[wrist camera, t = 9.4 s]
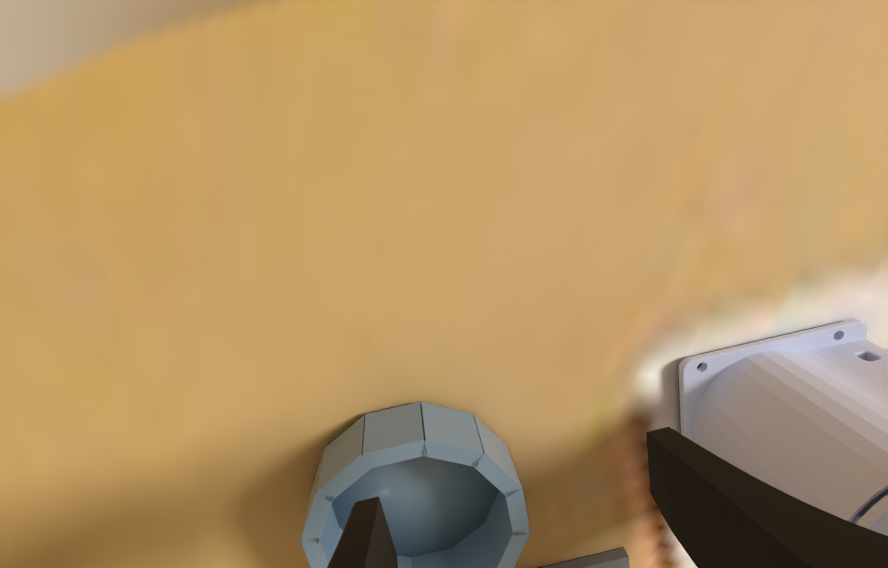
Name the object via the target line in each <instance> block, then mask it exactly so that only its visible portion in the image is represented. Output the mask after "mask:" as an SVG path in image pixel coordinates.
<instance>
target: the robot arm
mask: <svg viewBox="0 0 888 568" xmlns="http://www.w3.org/2000/svg"><path fill="white" fill-rule="evenodd" d="M836 332H837V333H836ZM866 332H867V326H866V324H865V323H864V322H862V321H860V320H857V319H851V320H847V321H843V322H839V323H834V324H830V325H826V326H821V327H817V328H813V329H808V330H804V331H800V332H795V333H791V334H787V335H782V336H778V337H774V338H770V339H765V340H761V341H757V342H752V343H748V344H744V345H739V346H735V347H731V348H726V349H722V350H718V351H714V352H709V353H705V354H701V355H696V356H692V357H688V358H685V359H684V360H683V361H681V363H680V364H679V392H680V418H681V434H680V433H678V432H676V431H675V430H673V429H671V428H670V427H666V428H662V429H658V430H654V431H650V432H646V434H647V448H648V462H649V476H650V490H651V495H652V496H653V498H654V500H655V502H656V504H657V506H658V508H659V509H660V511H661V513H662V515H663V517H664V518H665V520H666V522H667V524H668V525H669V527H670V529H671V531H672V532H673V533H674V535H675V536H676V538H677V539H678V541H679V542H680V543H681V545H682V546H683V548H684V549H685V551H686V552H687V553H688V555H689V556H690V558H691V559H692V560H693V562H694V563H695V565H696V566H697V567H698V568H888V350H887V349H885V348H883V347H881V346H878V345H876V344H874V343H872V342H870V341H868V340H866ZM835 333H836V334H835ZM834 334H835V335H834ZM700 363H702V365H701V367H699V368H697V367H698V365H699V364H700ZM327 568H398V562H397V553H396V550H395V547H394V544H393V540H392V537H391V534H390V531H389V527H388V524H387V521H386V518H385V514H384V511H383V508H382V505H381V502H380V498H379V496H378V497H374V498H370V499H366V500H361V501H357V502H355V504H354V505H353V507H352V510H351V512H350V515H349V518H348V520H347V523H346V525H345V528H344V530H343V533H342V535H341V537H340V540H339V542H338V544H337V547H336V549H335V551H334V553H333V556H332V558H331V560H330V562H329V564H328V566H327Z"/></svg>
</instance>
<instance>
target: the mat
mask: <svg viewBox="0 0 888 568" xmlns="http://www.w3.org/2000/svg"><path fill="white" fill-rule="evenodd" d="M542 568H629V557H628V555H627V553H626V551H625V549H624V547H623V548H619V549H615V550H611V551H607V552H603V553H599V554H595V555H591V556H587V557H583V558H579V559H574V560H570V561H566V562H562V563H558V564H554V565H550V566H546V567H542Z"/></svg>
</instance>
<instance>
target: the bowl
mask: <svg viewBox="0 0 888 568" xmlns="http://www.w3.org/2000/svg"><path fill="white" fill-rule="evenodd" d="M378 496H379V498H380V502H381V505H382V508H383V511H384V514H385V518H386V521H387V524H388V527H389V531H390V534H391V537H392V540H393V544H394V547H395V550H396V553H397V562H398V568H514V567H515V565H516V563H517V561H518V558H519V556H520V554H521V552H522V550H523V548H524V546H525V544H526V542H527V540H528V538H529V535H530V528H529V522H528V516H527V511H526V505H525V500H524V494H523V488H522V486H521V483H520V480H519V477H518V475H517V472H516V469H515V466H514V463H513V461H512V458H511V455H510V452H509V449H508V447H507V446H506V445H505V444H504V443H503V442H502V441H501V440H500V439H499V438H498V437H497V436H496V435H495V434H494V433H493V432H492V431H491V430H490V429H489V428H488V427H487V426H485V425H484V424H483V423H482V422H481V421H480V420H479V419H478V418H477V417H476V416H475V415H473V414H471V413H467V412H463V411H459V410H455V409H450V408H446V407H442V406H438V405H434V404H429V403H425V402H421V404H420V402H416V403H412V404H407V405H403V406H399V407H394V408H390V409H386V410H381V411H377V412H373V413H368V414H366V416H365V415H363V416H362V417H361V418H360V419H359V420H357V421H356V422H355V423H354V424H353V425H352V426H350V427H349V428H348V429H347V430H346V431H344V432H343V433H342V434H341V435H340V436H338V437H337V438H336V439H335V440H334V441H333V442H331V443H330V444H329V445H328V446H327V447H325V449H324V450H323V454H322V457H321V460H320V463H319V466H318V470H317V473H316V476H315V479H314V482H313V486H312V489H311V492H310V497H309V501H308V506H307V511H306V516H305V521H304V526H303V530H302V535H301V544H302V547H303V549H304V552H305V554H306V557H307V560H308V562H309V565H310V567H311V568H327V566H328V564H329V562H330V560H331V558H332V556H333V553H334V551H335V549H336V547H337V544H338V542H339V540H340V537H341V535H342V533H343V530H344V528H345V525H346V523H347V520H348V518H349V515H350V512H351V510H352V507H353V505H354V504H355V502H357V501H361V500H366V499H370V498H374V497H378Z"/></svg>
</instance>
